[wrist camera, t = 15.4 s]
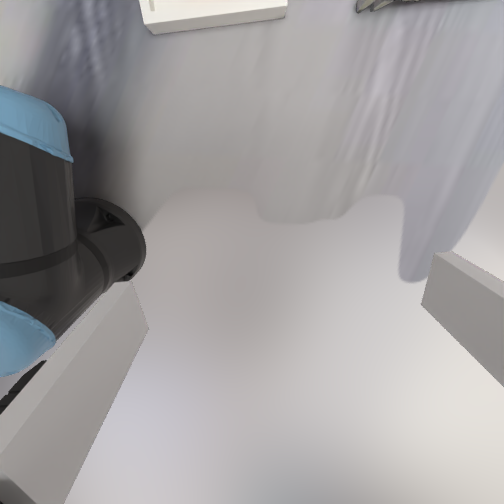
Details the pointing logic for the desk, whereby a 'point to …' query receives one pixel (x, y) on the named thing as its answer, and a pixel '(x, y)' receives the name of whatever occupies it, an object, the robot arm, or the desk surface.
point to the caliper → (375, 4)
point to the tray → (207, 13)
